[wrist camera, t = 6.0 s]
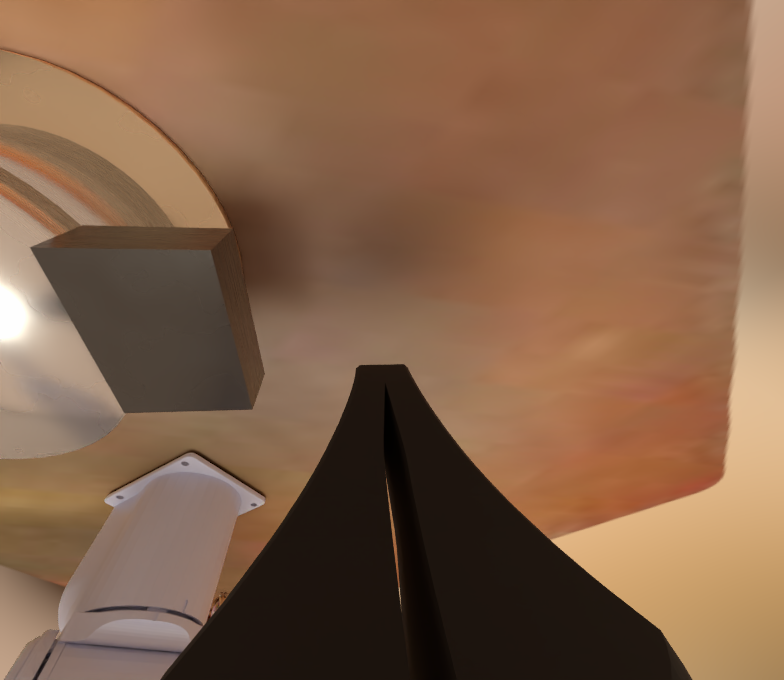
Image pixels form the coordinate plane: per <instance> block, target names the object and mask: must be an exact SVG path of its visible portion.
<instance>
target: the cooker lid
mask: <svg viewBox="0 0 784 680" xmlns="http://www.w3.org/2000/svg"><path fill="white" fill-rule="evenodd" d="M264 375H265V373H264V369H263V364H262V360H261V355H260V350H259V346H258V341H257V336H256V332H255V327H254V322H253V318H252V313H251V309H250V304H249V299H248V295H247V290H246V285H245V281H244V276H243V272H242V267H241V262H240V258H239V253H238V248H237V244H236V239H235V234H234V230H233V228H188V227H143V226H97V225H82V226H81V225H80V224H79V223H78V222H77V221H75V220H74V219H73V218H72V217H71V216H70V215H68V214H67V213H66V212H65V211H64V210H63V209H62V208H60V207H59V206H58V205H56V204H55V203H54V202H52V201H51V200H50V199H48V198H47V197H46V196H44V195H43V194H41V193H40V192H39V191H37V190H36V189H35V188H33V187H32V186H31V185H29V184H27V183H26V182H24V181H23V180H21V179H19V178H18V177H16V176H15V175H13V174H11V173H10V172H8V171H7V170H5V169H3V168H2V167H0V459H29V458H41V457H48V456H54V455H60V454H64V453H68V452H71V451H75V450H79V449H81V448H83V447H86V446H88V445H90V444H93V443H95V442H96V441H98V440H100V439H101V438H103V437H104V436H106V435H107V434H108V433H109V432H111V431H112V430H113V429H114V428H115V427H116V426H117V425H118V424H119V422H120V421H121V420H122V418H123V417H124V416H125V414H126V413H143V412H178V411H213V410H249V409H253V406H254V403H255V401H256V398H257V395H258V392H259V389H260V386H261V383H262V380H263V378H264Z"/></svg>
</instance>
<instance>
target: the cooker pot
mask: <svg viewBox="0 0 784 680" xmlns="http://www.w3.org/2000/svg"><path fill="white" fill-rule="evenodd" d="M0 167H2V168H3V169H5V170H7V171H8V172H10V173H11V174H13V175H15V176H16V177H18V178H19V179H21V180H23V181H24V182H26V183H27V184H29V185H31V186H32V187H33V188H35V189H36V190H37V191H39V192H40V193H41V194H43V195H44V196H46V197H47V198H48V199H50V200H51V201H52V202H54V203H55V204H56V205H58V206H59V207H60V208H62V209H63V210H64V211H65V212H66V213H67V214H68V215H70V216H71V217H72V218H73V219H74V220H75V221H77V222H78V223H79V224H80V225H81V226H82V225H97V226H143V227H188V228H232V226H231V224H230V222H229V219H228V217H227V215H226V213H225V211H224V209H223V207H222V205H221V204H220V202H219V200H218V198H217V197H216V195H215V193H214V191H213V190H212V189H211V187H210V186H209V184H208V183H207V182H206V180H205V179H204V177H203V176H202V174H201V173H200V172H199V170H198V169H197V168H196V167H195V166H194V165H193V163H192V162H191V161H190V160H189V159H188V158H187V156H186V155H185V154H184V153H183V152H182V151H181V149H180V148H179V147H178V146H177V145H175V144H174V143H173V142H172V141H171V140H170V139H169V138H168V137H167V136H166V135H165V134H164V133H163V132H162V131H161V130H160V129H159V128H158V127H157V126H155V125H154V124H153V123H152V122H150V121H149V120H148V119H146V118H145V117H144V116H143V115H141V114H140V113H139V112H138V111H136V110H135V109H134V108H133V107H131V106H130V105H128V104H127V103H125V102H124V101H122V100H121V99H119V98H118V97H116V96H114V95H113V94H111V93H110V92H108V91H107V90H105V89H104V88H102V87H100V86H98V85H96V84H94V83H92V82H90V81H88V80H87V79H85V78H83V77H81V76H79V75H77V74H75V73H73V72H71V71H68V70H66V69H63V68H61V67H58V66H56V65H53V64H51V63H48V62H46V61H43V60H40V59H36V58H33V57H29V56H25V55H22V54H18V53H14V52H11V51H6V50H0ZM235 239H236V236H235ZM236 244H237V240H236ZM237 248H238V253H239V258H240V262H241V267H242V261H241V254H240V251H239V247H238V244H237ZM242 272H243V268H242Z"/></svg>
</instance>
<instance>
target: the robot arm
mask: <svg viewBox="0 0 784 680" xmlns="http://www.w3.org/2000/svg"><path fill="white" fill-rule="evenodd" d="M385 472H386V473H385ZM386 478H387V483H386ZM387 484H388V490H389V497H390V503H391V509H392V516H393V522H394V528H395V536H396V544H397V556H398V569H399V583H400V595H401V604H400V597H399V588H398V580H397V572H396V563H395V555H394V547H393V539H392V530H391V520H390V511H389V502H388V493H387ZM104 501H105V503H107V504H109V505H111V506H113V507H114V509H113V510H112V512H111V514H110V515H109V517H108V519H107V520H106V522H105V523H104V525H103V527H102V528H101V530H100V532H99V533H98V535H97V537H96V538H95V540H94V541H93V543H92V545H91V546H90V548H89V550H88V551H87V553H86V555H85V556H84V558H83V559H82V561H81V563H80V564H79V566H78V568H77V569H76V571H75V573H74V574H73V576H72V577H71V579H70V581H69V582H68V584H67V586H66V588H65V590H64V592H63V594H62V597H61V600H60V604H59V610H58V624H59V629H60V632H61V634H60V635H59V637H58V638H57V639H55V638H56V636H57V634H58V632H59V630H47V631H45V632H44V633H43V634H42V636H39V637H37V638H35V639H34V640H32V641H30V642H29V643H27V644H26V646H25V648H24V649H23V650H22V652H21V653H20V655H19V657H18V658H17V660H16V661H15V663H14V664H13V666H12V667H11V669H10V671H9V672H8V674H7V676H6V677H5V679H4V680H692V679H691V677H690V675H689V674H688V672H687V670H686V668H685V667H684V665H683V663H682V662H681V661H680V659H679V657H678V656H677V655H676V653H675V651H674V650H673V649H672V647H671V646H670V644H669V643H668V641H667V639H666V638H665V636H664V635H663V633H662V632H661V630H660V629H658V628H657V627H656V626H654V625H653V624H652V623H651V622H649V621H648V620H647V619H645V618H644V617H643V616H642V615H640V614H639V613H638V612H636V611H635V610H634V609H633V608H631V607H630V606H629V605H628V604H626V603H625V602H624V601H622V600H621V599H620V598H619V597H617V596H616V595H615V594H613V593H612V592H611V591H610V590H608V589H607V588H606V587H605V586H603V585H602V584H601V583H600V582H599V581H597V580H596V579H595V578H594V577H592V576H591V575H590V574H589V573H588V572H586V571H585V570H584V569H583V568H582V567H581V566H579V565H578V564H577V563H576V562H574V560H572V559H571V558H570V557H569V556H568V555H567V554H565V553H564V552H563V551H562V550H560V548H558V547H557V546H556V545H555V544H554V543H553V542H552V541H551V540H550V539H548V538H547V537H546V536H545V535H544V534H543V533H542V532H541V531H540V530H539V529H538V528H537V527H536V526H535V525H533V524H532V523H531V522H530V521H529V520H528V519H527V518H526V517H525V516H524V515H523V514H522V513H521V512H520V511H518V510H517V509H516V508H515V507H514V506H513V505H512V504H511V503H510V502H509V501H508V500H507V499H506V498H505V497H504V496H503V495H502V494H501V493H500V492H499V491H498V489H497V488H496V487H495V486H494V485H493V484H492V483H491V482H490V481H489V480H488V479H487V478H486V477H485V476H484V475H483V473H482V472H481V471H480V470H479V469H478V468H477V467H476V466H475V464H474V463H473V462H472V461H471V460H470V459H469V457H468V456H467V455H466V454H465V453H464V451H463V450H462V449H461V448H460V446H459V445H458V444H457V443H456V441H455V440H454V439H453V438H452V436H451V435H450V434H449V432H448V431H447V430H446V428H445V427H444V426H443V424H442V423H441V421H440V420H439V419H438V417H437V416H436V414H435V413H434V411H433V410H432V408H431V407H430V406H429V404H428V402H427V401H426V399H425V398H424V396H423V395H422V393H421V391H420V390H419V388H418V386H417V385H416V383H415V381H414V379H413V377H412V376H411V374H410V372H409V370H408V368H407V367H406V366H405V365H404V364H396V365H360V366H359V367H357V368H356V374H355V379H354V383H353V387H352V390H351V393H350V396H349V399H348V402H347V404H346V407H345V409H344V412H343V414H342V417H341V419H340V422H339V424H338V426H337V428H336V430H335V432H334V434H333V436H332V438H331V440H330V442H329V444H328V446H327V449H326V451H325V453H324V454H323V456H322V458H321V460H320V462H319V464H318V465H317V467H316V469H315V471H314V473H313V474H312V476H311V478H310V479H309V481H308V483H307V484H306V486H305V488H304V489H303V491H302V493H301V494H300V496H299V497H298V499H297V500H296V502H295V503H294V505H293V507H292V508H291V510H290V511H289V513H288V514H287V516H286V517H285V519H284V520H283V522H282V523H281V525H280V526H279V528H278V529H277V531H276V532H275V533H274V535H273V536H272V538H271V539H270V541H269V542H268V543H267V545H266V546H265V547H264V549H263V550H262V551H261V553H260V554H259V555H258V557H257V558H256V559H255V561H254V562H253V563H252V565H251V566H250V567H249V569H248V570H247V572H246V573H245V574H244V576H243V577H242V578H241V580H240V581H239V582H238V584H237V585H236V586H235V588H234V589H233V590H232V591H231V593H230V594H229V595H228V597H227V598H226V599H225V600H224V602H223V603H222V604H221V605H220V607H219V608H218V609H217V610H216V611H215V613H214V614H213V615H212V616H211V617H210V619H209V620H208V621H207V618H208V615H209V611H210V608H211V605H212V601H213V598H214V594H215V591H216V588H217V584H218V581H219V577H220V574H221V571H222V567H223V564H224V560H225V557H226V554H227V550H228V547H229V543H230V540H231V537H232V533H233V530H234V526H235V523H236V520H237V516H239V515H241V514H244V513H246V512H248V511H250V510H253V509H255V508H257V507H259V506H261V505H263V504H264V503H265V497H264V496H262V495H261V494H259V493H257V492H256V491H254V490H253V489H251V488H249V487H248V486H246V485H245V484H243V483H241V482H240V481H238V480H237V479H235V478H234V477H232V476H230V475H229V474H227V473H226V472H224V471H222V470H221V469H219V468H218V467H216V466H215V465H213V464H211V463H210V462H208V461H207V460H205V459H203V458H202V457H200V456H199V455H197V454H195V453H187V454H185V455H183V456H181V457H179V458H177V459H175V460H173V461H171V462H169V463H168V464H166V465H164V466H162V467H160V468H158V469H156V470H154V471H152V472H151V473H149V474H147V475H145V476H143V477H141V478H139V479H137V480H135V481H133V482H132V483H130V484H128V485H126V486H124V487H122V488H120V489H118V490H116V491H115V492H113V493H111V494H109V495H107V497H106V498H105V500H104ZM401 611H402V612H401Z"/></svg>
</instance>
